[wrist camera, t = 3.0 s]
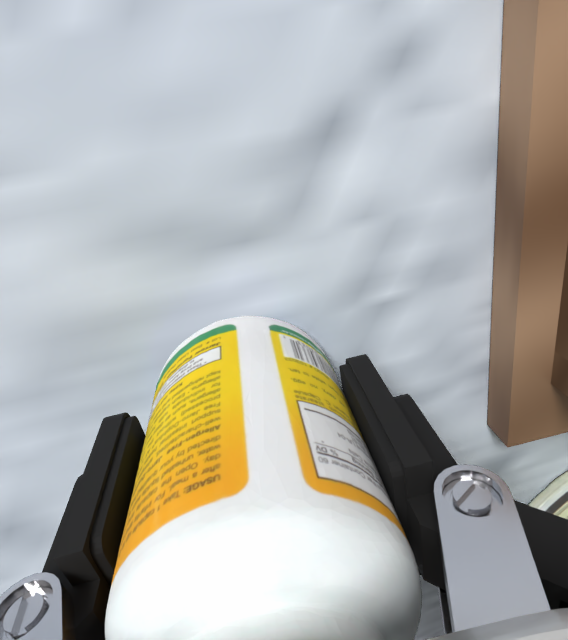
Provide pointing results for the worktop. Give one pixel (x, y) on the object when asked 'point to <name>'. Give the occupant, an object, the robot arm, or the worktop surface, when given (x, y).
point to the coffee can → (554, 497)
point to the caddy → (531, 228)
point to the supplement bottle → (259, 503)
